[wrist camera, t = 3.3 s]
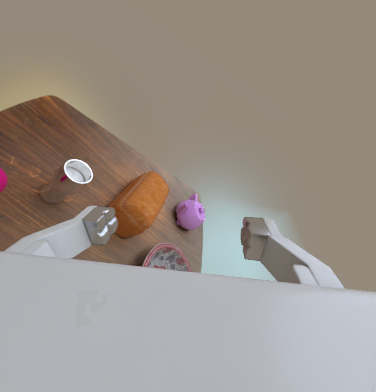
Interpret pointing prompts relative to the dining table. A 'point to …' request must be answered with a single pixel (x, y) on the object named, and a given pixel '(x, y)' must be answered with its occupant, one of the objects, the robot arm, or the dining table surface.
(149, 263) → the ceramic bowl
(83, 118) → the dining table surface
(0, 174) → the pepper mill
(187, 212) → the teapot
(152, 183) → the bread
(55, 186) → the metal cup
